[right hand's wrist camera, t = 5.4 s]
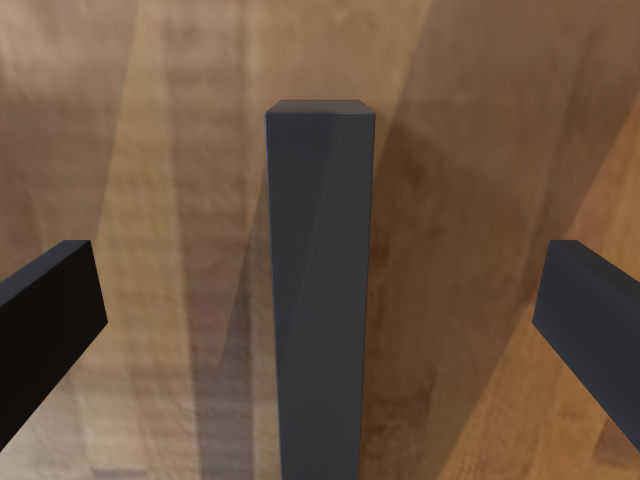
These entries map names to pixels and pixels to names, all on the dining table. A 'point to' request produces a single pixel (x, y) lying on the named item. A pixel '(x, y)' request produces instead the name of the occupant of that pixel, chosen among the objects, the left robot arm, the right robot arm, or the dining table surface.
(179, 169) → the dining table surface
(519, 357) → the dining table surface
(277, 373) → the beam
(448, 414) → the dining table surface
